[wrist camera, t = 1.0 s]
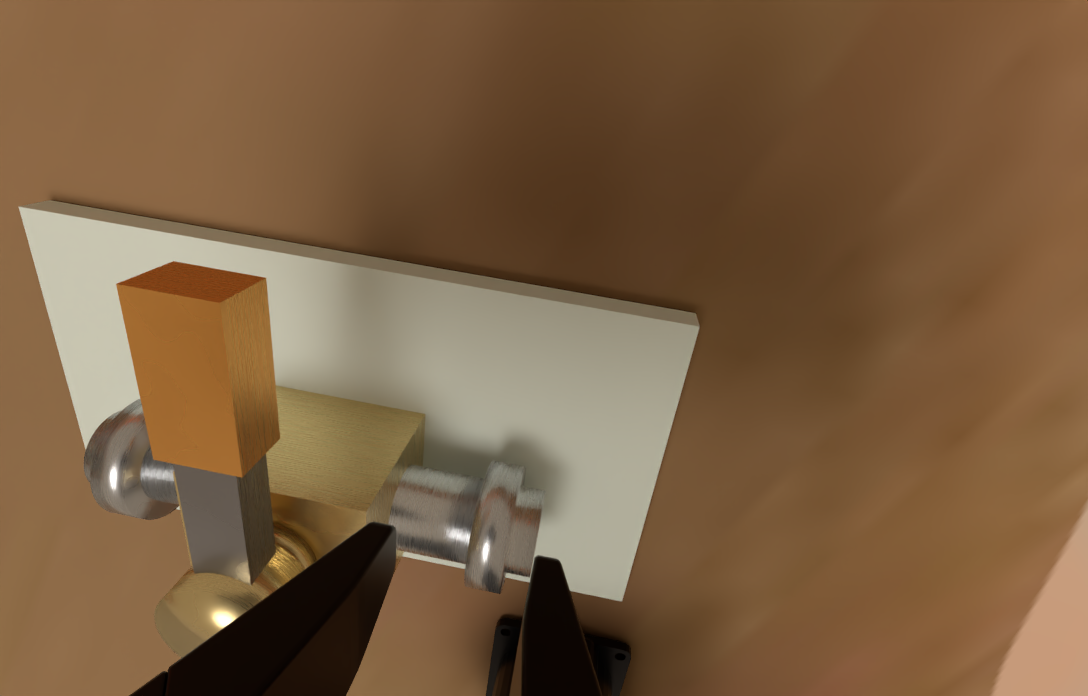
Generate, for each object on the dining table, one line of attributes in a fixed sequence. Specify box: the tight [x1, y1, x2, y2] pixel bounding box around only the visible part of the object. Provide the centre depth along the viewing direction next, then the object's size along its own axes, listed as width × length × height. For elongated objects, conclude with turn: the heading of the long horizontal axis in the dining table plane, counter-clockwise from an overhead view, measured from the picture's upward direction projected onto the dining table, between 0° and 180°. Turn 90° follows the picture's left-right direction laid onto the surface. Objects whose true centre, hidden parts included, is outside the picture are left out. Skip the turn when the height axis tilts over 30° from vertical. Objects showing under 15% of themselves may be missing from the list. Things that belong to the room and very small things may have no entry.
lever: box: [116, 261, 304, 658], centre depth 14 cm, size 12×3×2 cm, turn 173°
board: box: [19, 200, 700, 602], centre depth 22 cm, size 13×24×1 cm, turn 83°
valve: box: [84, 385, 546, 594], centre depth 20 cm, size 16×5×6 cm, turn 83°
